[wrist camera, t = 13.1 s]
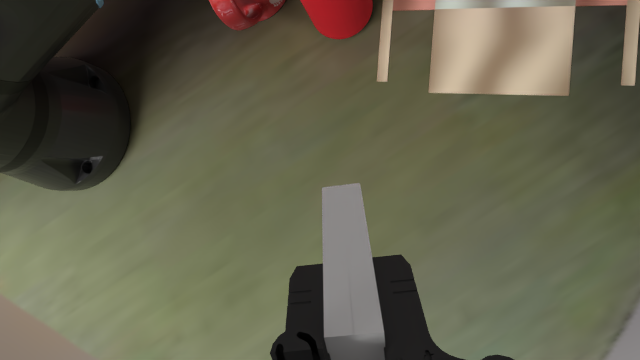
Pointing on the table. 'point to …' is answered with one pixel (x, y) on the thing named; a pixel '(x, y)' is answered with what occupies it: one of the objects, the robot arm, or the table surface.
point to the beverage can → (339, 16)
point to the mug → (245, 11)
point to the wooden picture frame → (505, 44)
